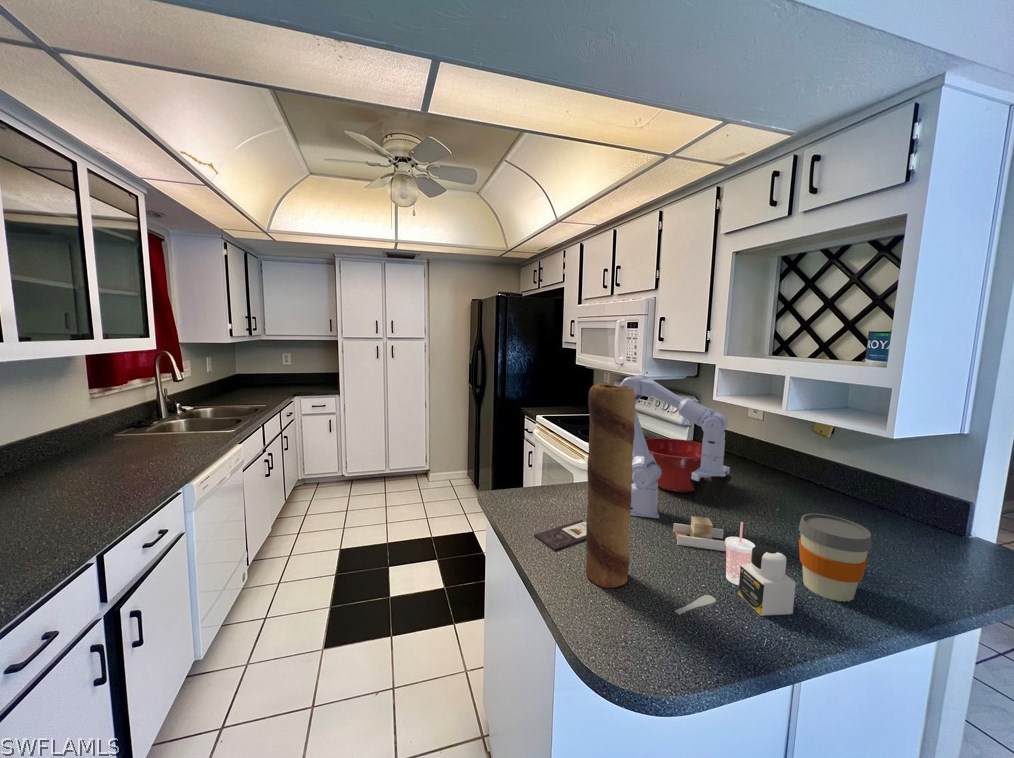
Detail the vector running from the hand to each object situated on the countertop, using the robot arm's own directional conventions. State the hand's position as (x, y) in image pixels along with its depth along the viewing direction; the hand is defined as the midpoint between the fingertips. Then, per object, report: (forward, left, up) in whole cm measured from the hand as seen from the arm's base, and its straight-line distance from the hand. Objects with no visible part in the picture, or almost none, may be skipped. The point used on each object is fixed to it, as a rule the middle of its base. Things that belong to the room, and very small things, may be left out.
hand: (708, 500), depth 116 cm
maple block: (-3, -7, -9) cm, 12 cm away
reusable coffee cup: (+20, -22, -9) cm, 32 cm away
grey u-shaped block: (-3, -7, -9) cm, 12 cm away
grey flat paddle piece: (-15, -41, -10) cm, 45 cm away
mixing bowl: (-4, +36, -9) cm, 37 cm away
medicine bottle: (+4, -32, -9) cm, 34 cm away
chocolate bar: (-39, -14, -10) cm, 42 cm away
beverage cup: (+1, -24, -9) cm, 26 cm away
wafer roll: (-29, -31, -9) cm, 43 cm away
